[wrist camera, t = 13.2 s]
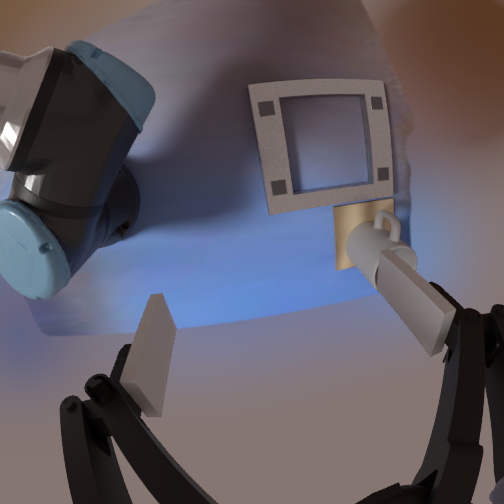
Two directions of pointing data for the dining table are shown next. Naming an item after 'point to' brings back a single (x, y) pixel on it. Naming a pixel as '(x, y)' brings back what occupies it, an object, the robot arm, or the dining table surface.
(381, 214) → the mug
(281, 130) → the grey square frame
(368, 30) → the dining table surface
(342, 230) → the coaster
